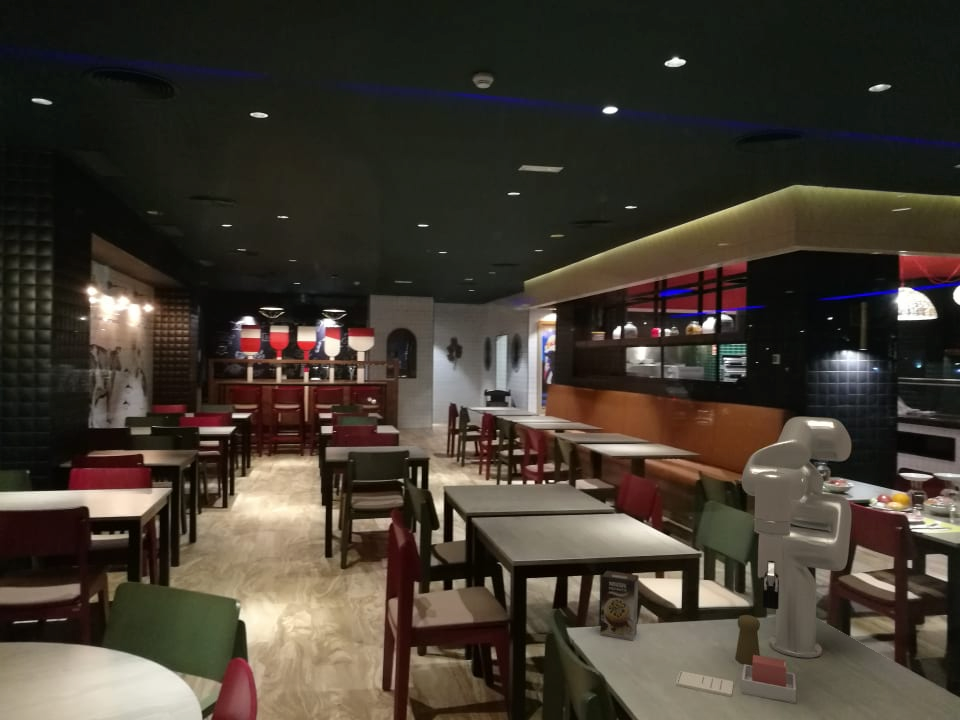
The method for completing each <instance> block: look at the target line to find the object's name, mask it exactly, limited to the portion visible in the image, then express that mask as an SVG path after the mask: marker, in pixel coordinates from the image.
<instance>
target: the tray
mask: <svg viewBox="0 0 960 720" xmlns="http://www.w3.org/2000/svg"><path fill="white" fill-rule="evenodd" d="M742 669H743V670H742V678H741V679H742V680H741V694H743V695H749V696H755V697H760V698H762V699H763V698H765V699H769V700H774V701H779V702H784V703H788V704H789V703H790V704H794V705H796V698H797V697H796V696H797V688H796V687H797V685H796V673H793V672H787V671H786V687H782V686H777V685H771V684H766V683H761V682H756V681H752V666H750V665H745V664H743V668H742Z"/></svg>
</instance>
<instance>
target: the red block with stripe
mask: <svg viewBox="0 0 960 720" xmlns="http://www.w3.org/2000/svg"><path fill="white" fill-rule="evenodd" d="M786 672H787V660H784V659H778V658H773V657H767V656H761V655H760V656H757V655H753V662H752V681H756V682H761V683H766V684H771V685H777V686H782V687H786Z"/></svg>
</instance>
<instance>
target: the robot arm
mask: <svg viewBox="0 0 960 720" xmlns="http://www.w3.org/2000/svg"><path fill="white" fill-rule="evenodd" d="M851 440H852V439H851V437H850V435H849V432H848V430H847V429H846V427H845V426H844V425H843V423H842V422H841V421H840V420H838V419H836V418H832V417H831V418H830V417H816V416H813V417H812V416H794V417H791V418H789V419H788V420H787V421H786V423H784V426H783V428H782V431H781V433H780V435H779V438H778V440H777V442H775V443H772V444H770V445H767V446H765V447H763V448H760V449H759V450H757V451H755V452H754V453H752V454H751V455H750V457H749V458H748V460H747V462H746V465H745V466H744V468H743V472H742V476H741V486H742V489H743V491H744V492H745V493H746V494H747V495H750V496H751V497H754V529H753V531H754V532H755V533H756V534H759V535H758V546H757V547H758V548H757V556H758V557H757V577H758V578H759V579H761V578H763V588H762V607H763V608H765V609H772V610H775V635H772V636H771V637H770V638H769V640H768V644H769V646H770V647H771V648H772V649H773V650H775V651H777V652H779V653H781V654H785V655H787V656H790V657H797V658H806V659H808V658H809V659H813V658H816V657H817V658H818V657H820V656H821V655H822V654H823V648H822V646H821V645H820V644H819V643H817V641H816V633H817V630H816V629H817V627H816V625H817V621H816V620H817V583H816V579H815V578H814V575H813V574H812V573H811V571H810V570H809V568H812V569H813V568H814V569H820V570H826V571H833V572H840V571H843V570H844V569H846V566H847V564H848V559H849V558H848V557H849V549H850V540H851V539H850V538H851V530H852V529H851V528H852V507H851V504H850V502H849V501H848V499H847V498H845V496H841V495H838V494H833V493H832V494H830V493H829V494H828V493H823V490H824V489H823V488H824V482H825V481H824V476H823V474H821V472H820V471H819V469H818V468H817V467H816V466H815V465H814V464H813V463H812V462H811V461H810V460H811V459H812V460H819V461H820V460H821V461H831V462H833V461H834V462H843V461H846V460H847V459H849V457H850V454H851V452H852V441H851ZM791 524H792V525H795V526H791ZM796 526H797V527H796Z"/></svg>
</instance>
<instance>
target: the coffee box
mask: <svg viewBox="0 0 960 720" xmlns="http://www.w3.org/2000/svg"><path fill="white" fill-rule="evenodd" d="M601 577H602V578H601V604H600V605H601V606H600V607H601V609H600V636H605V637H610V638H616V639H621V640H627V641H631V642H632V641H634V639H635V637H636V635H637V632H638V631H637V630H638V629H637V628H638V627H637V626H638V599H639V577H640V576H639V575H638V574H632V573H624V572H618V571H612V570H606V571H605V572H604V573H603V575H602V576H601Z"/></svg>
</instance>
